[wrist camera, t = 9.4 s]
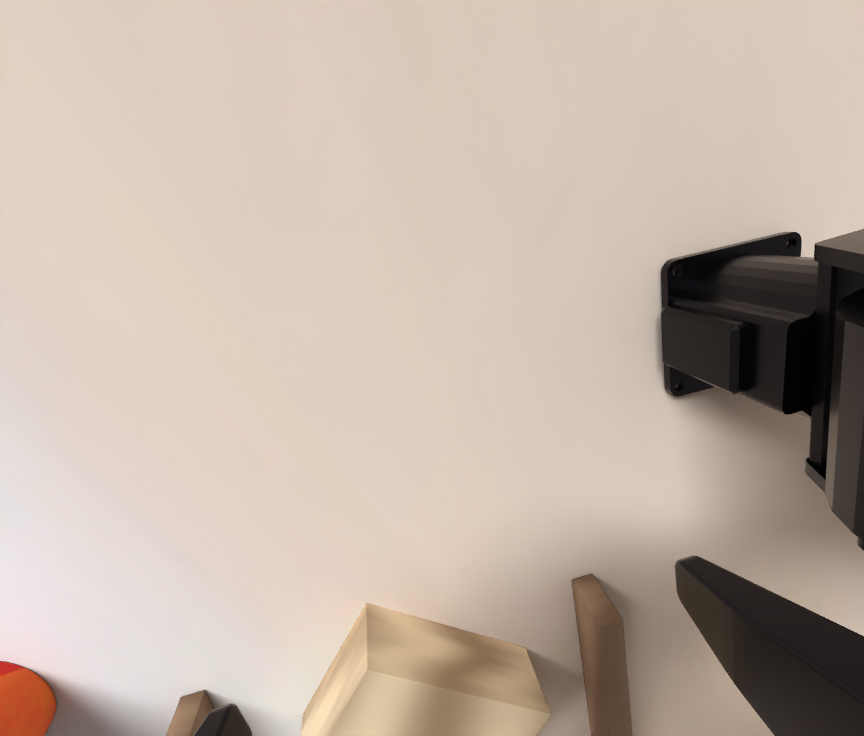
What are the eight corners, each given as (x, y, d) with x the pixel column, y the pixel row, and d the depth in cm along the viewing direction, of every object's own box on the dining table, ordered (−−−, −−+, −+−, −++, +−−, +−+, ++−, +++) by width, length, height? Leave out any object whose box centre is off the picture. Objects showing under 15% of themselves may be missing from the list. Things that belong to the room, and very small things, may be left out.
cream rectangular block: (523, 643, 26) (551, 714, 22) (458, 739, 27) (474, 821, 23) (366, 597, 23) (367, 669, 19) (303, 707, 24) (293, 794, 21)
